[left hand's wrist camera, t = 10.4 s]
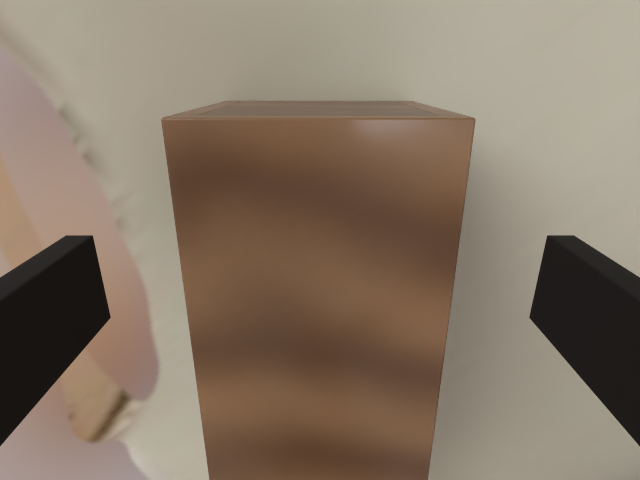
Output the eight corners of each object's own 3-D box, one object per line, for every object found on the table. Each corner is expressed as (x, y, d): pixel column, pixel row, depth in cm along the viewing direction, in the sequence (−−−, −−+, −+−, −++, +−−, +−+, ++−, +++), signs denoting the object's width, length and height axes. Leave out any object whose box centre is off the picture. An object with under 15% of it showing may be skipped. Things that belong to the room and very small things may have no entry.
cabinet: (390, 385, 34) (422, 523, 23) (247, 385, 34) (214, 524, 23) (412, 101, 26) (476, 117, 15) (224, 101, 26) (160, 117, 15)
